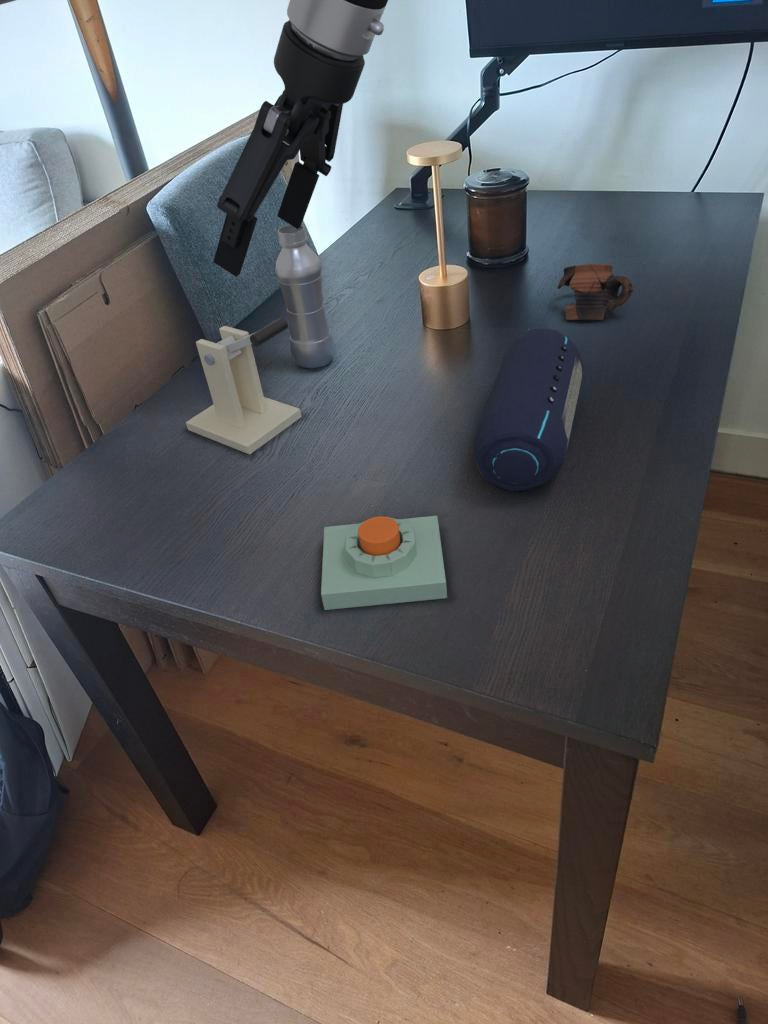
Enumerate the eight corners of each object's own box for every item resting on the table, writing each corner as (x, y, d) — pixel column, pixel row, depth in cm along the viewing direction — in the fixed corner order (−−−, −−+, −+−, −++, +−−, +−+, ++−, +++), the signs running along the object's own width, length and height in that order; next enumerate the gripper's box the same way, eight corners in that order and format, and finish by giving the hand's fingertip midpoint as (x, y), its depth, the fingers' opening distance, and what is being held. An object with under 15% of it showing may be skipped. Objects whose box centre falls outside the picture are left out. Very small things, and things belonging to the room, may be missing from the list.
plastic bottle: (312, 349, 117) (287, 218, 105) (346, 358, 114) (325, 223, 101) (284, 367, 113) (256, 234, 101) (319, 377, 110) (293, 240, 97)
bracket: (302, 417, 102) (284, 329, 94) (249, 455, 96) (225, 365, 88) (240, 395, 108) (218, 312, 100) (188, 430, 103) (160, 344, 95)
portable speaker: (560, 509, 82) (564, 431, 75) (469, 499, 85) (465, 424, 78) (584, 389, 100) (589, 318, 93) (508, 385, 103) (508, 316, 96)
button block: (324, 610, 74) (317, 581, 71) (327, 542, 82) (321, 513, 79) (447, 598, 73) (445, 568, 71) (438, 531, 81) (436, 502, 79)
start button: (360, 558, 74) (358, 544, 73) (360, 531, 77) (357, 518, 76) (401, 554, 74) (399, 540, 72) (399, 527, 77) (397, 514, 76)
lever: (292, 330, 89) (282, 312, 88) (262, 349, 86) (252, 329, 86) (238, 352, 98) (229, 335, 97) (210, 369, 95) (200, 352, 95)
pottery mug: (545, 322, 117) (546, 266, 115) (574, 326, 124) (575, 273, 122) (620, 316, 109) (622, 257, 107) (646, 320, 116) (649, 264, 114)
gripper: (299, 94, 57) (229, 312, 72) (413, 37, 74) (337, 222, 89) (214, 38, 57) (162, 269, 72) (348, -6, 74) (283, 187, 89)
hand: (259, 243), depth 81 cm, fingers open, 13 cm apart
